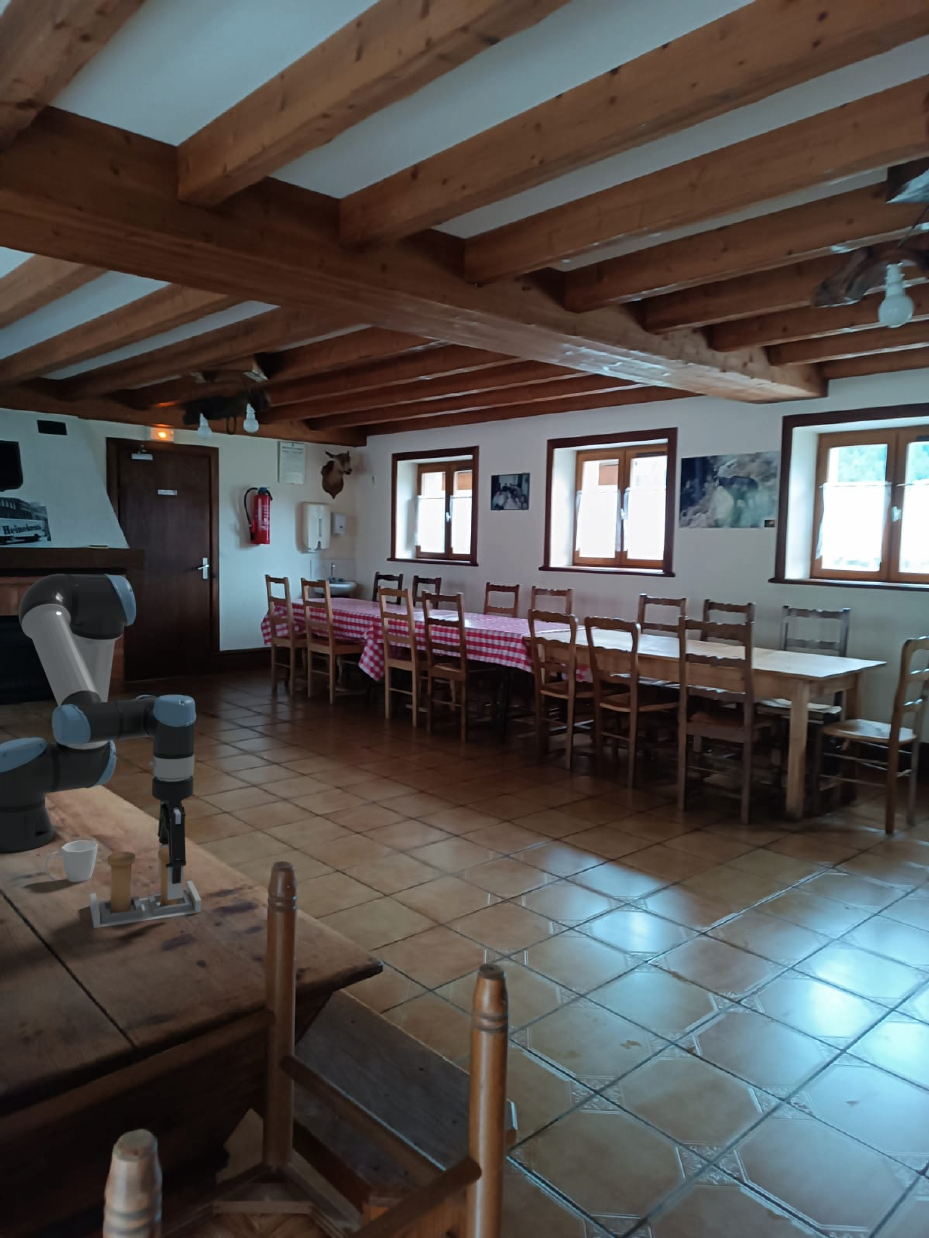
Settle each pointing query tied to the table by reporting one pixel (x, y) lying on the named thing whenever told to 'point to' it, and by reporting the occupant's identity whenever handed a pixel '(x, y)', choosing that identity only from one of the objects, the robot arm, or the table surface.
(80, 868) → the cup
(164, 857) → the tan ball-headed post
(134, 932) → the table surface
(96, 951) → the table surface
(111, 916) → the tray
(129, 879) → the rounded wooden peg
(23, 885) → the table surface
